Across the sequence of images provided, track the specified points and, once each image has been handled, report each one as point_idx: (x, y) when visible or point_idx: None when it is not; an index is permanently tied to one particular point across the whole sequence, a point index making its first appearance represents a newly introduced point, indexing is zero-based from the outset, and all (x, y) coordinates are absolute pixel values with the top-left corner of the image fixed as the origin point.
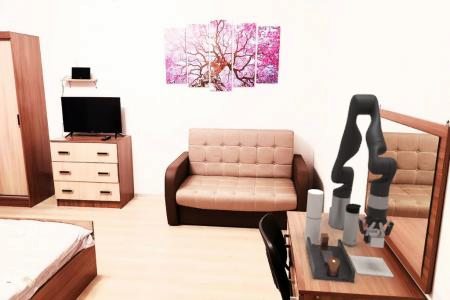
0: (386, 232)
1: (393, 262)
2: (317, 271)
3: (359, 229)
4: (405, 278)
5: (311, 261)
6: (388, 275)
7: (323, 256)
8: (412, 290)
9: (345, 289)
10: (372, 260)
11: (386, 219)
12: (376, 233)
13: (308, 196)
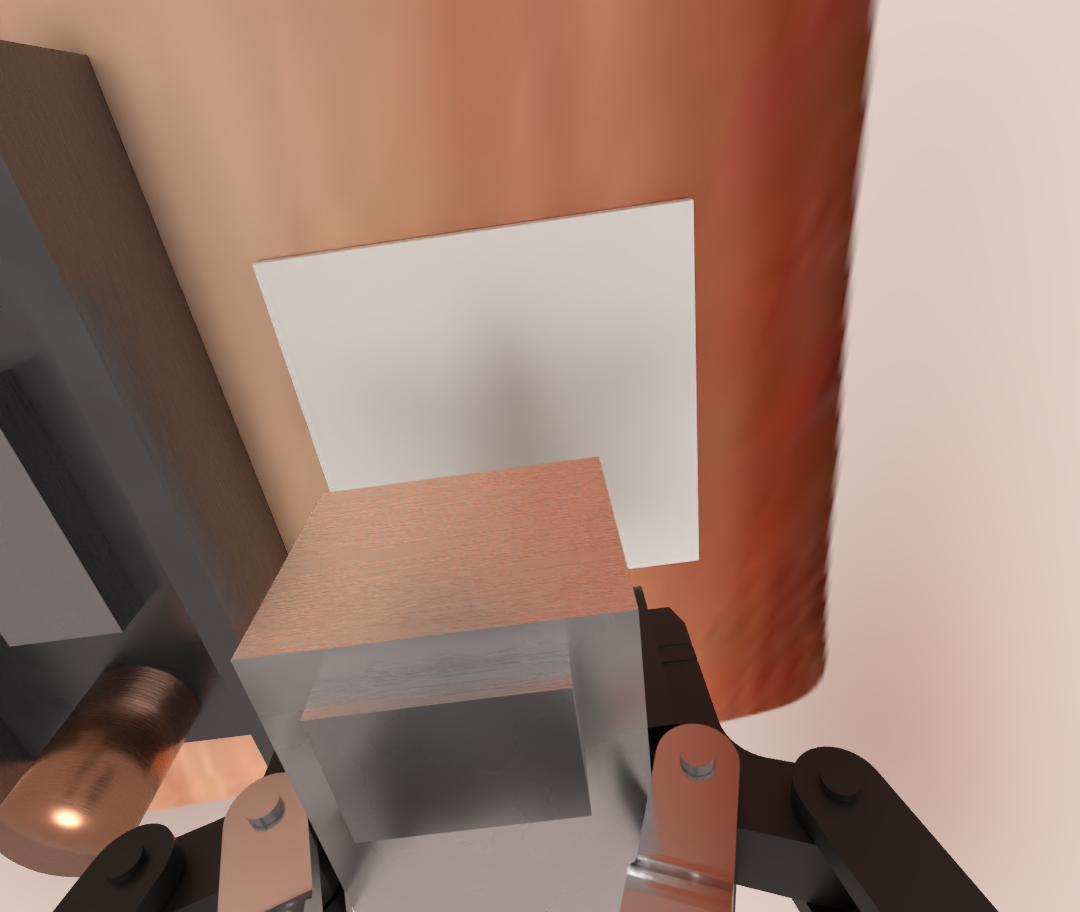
0: (809, 894)
1: (816, 240)
2: (13, 713)
3: (71, 904)
4: (804, 531)
5: None
6: (652, 560)
7: None
8: (782, 666)
9: None
10: (548, 312)
11: None
12: (542, 856)
13: None
